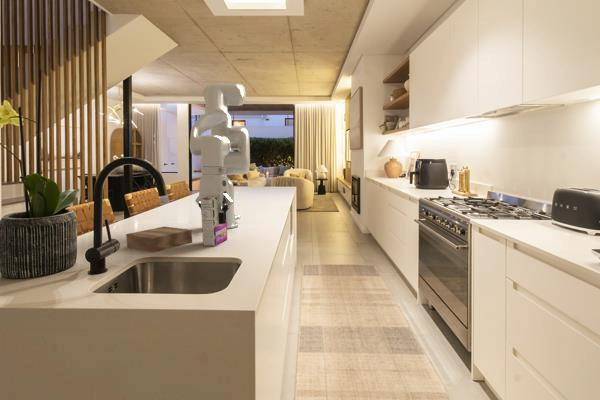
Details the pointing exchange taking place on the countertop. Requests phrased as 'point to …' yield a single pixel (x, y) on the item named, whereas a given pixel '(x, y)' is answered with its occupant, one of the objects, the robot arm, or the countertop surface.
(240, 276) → the countertop surface
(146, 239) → the walnut block
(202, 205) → the candy bar box
